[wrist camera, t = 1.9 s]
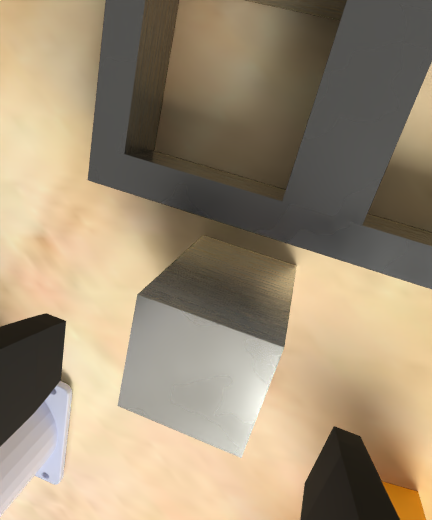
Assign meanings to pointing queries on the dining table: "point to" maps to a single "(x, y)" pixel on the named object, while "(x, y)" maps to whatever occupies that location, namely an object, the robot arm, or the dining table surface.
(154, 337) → the block
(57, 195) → the dining table surface
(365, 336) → the dining table surface
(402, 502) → the pipe clamp
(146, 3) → the dark grey flat frame
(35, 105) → the dining table surface
